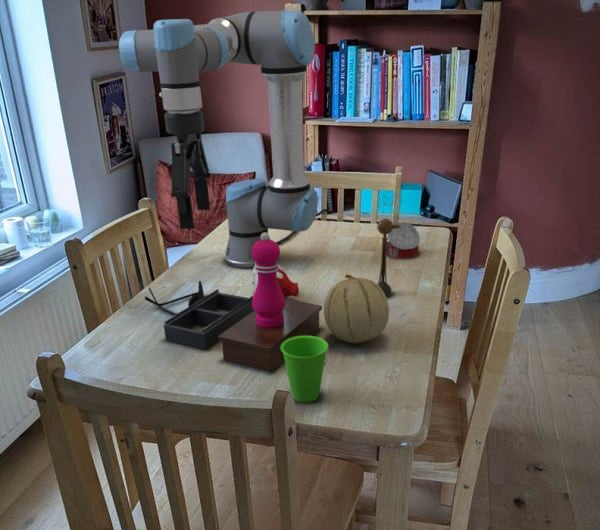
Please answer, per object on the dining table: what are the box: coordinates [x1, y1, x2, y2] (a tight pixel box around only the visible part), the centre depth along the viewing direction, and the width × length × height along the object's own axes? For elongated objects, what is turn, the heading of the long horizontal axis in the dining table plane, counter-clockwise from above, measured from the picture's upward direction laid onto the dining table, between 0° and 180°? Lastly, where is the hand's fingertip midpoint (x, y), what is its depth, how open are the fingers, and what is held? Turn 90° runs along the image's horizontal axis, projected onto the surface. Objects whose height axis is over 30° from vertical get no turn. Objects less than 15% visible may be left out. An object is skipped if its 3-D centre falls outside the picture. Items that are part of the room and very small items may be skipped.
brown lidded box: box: [218, 298, 323, 373], centre depth 143 cm, size 24×13×6 cm, turn 152°
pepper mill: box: [251, 232, 286, 328], centre depth 136 cm, size 7×7×20 cm
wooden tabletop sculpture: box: [376, 218, 399, 298], centre depth 163 cm, size 6×5×20 cm
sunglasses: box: [144, 280, 205, 316], centre depth 163 cm, size 17×14×5 cm
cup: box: [280, 335, 329, 403], centre depth 122 cm, size 9×9×11 cm
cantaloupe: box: [323, 273, 390, 345], centre depth 142 cm, size 15×15×15 cm
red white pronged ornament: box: [251, 264, 300, 299], centre depth 165 cm, size 9×11×15 cm
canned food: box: [386, 222, 421, 260], centre depth 195 cm, size 11×10×10 cm
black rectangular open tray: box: [163, 289, 254, 351], centre depth 152 cm, size 22×12×5 cm, turn 152°
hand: (196, 218), depth 136 cm, fingers open, 13 cm apart
